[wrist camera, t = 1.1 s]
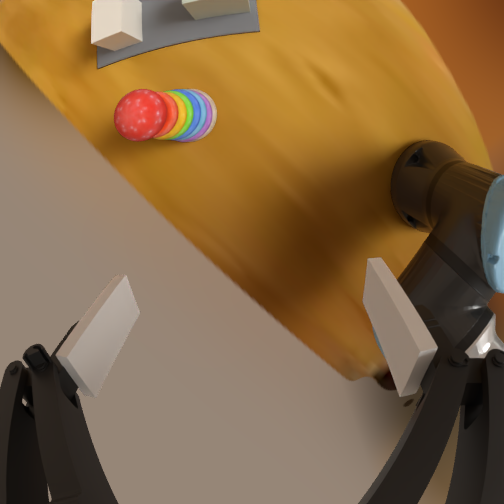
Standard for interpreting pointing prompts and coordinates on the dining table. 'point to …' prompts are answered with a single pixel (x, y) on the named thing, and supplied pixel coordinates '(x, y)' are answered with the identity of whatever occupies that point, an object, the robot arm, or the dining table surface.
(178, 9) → the charcoal mat
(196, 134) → the stacking toy
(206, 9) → the sage brick
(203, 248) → the dining table surface
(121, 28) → the cream brick
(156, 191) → the dining table surface
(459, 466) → the robot arm
